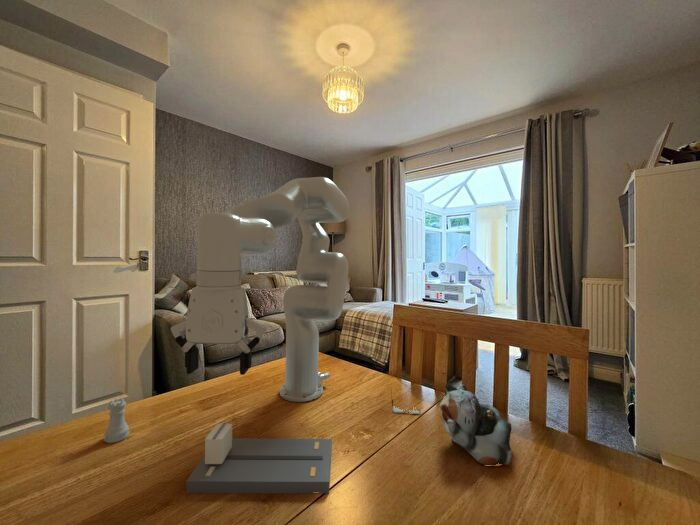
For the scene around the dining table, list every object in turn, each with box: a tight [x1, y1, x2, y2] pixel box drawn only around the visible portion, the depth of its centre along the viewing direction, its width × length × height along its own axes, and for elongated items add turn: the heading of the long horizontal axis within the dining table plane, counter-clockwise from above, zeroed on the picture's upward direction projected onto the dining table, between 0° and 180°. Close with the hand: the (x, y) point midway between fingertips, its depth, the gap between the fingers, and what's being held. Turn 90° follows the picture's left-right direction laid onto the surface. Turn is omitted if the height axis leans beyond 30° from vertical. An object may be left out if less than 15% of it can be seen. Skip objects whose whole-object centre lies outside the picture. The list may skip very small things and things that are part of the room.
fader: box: [204, 422, 233, 464], centre depth 57 cm, size 3×5×5 cm, turn 1°
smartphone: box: [391, 405, 422, 415], centre depth 85 cm, size 7×1×15 cm
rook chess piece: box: [103, 398, 131, 444], centre depth 65 cm, size 4×4×8 cm
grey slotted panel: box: [185, 437, 333, 494], centre depth 57 cm, size 24×12×2 cm, turn 91°
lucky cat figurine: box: [438, 383, 513, 466], centre depth 65 cm, size 15×12×14 cm
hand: (218, 371), depth 56 cm, fingers open, 9 cm apart
